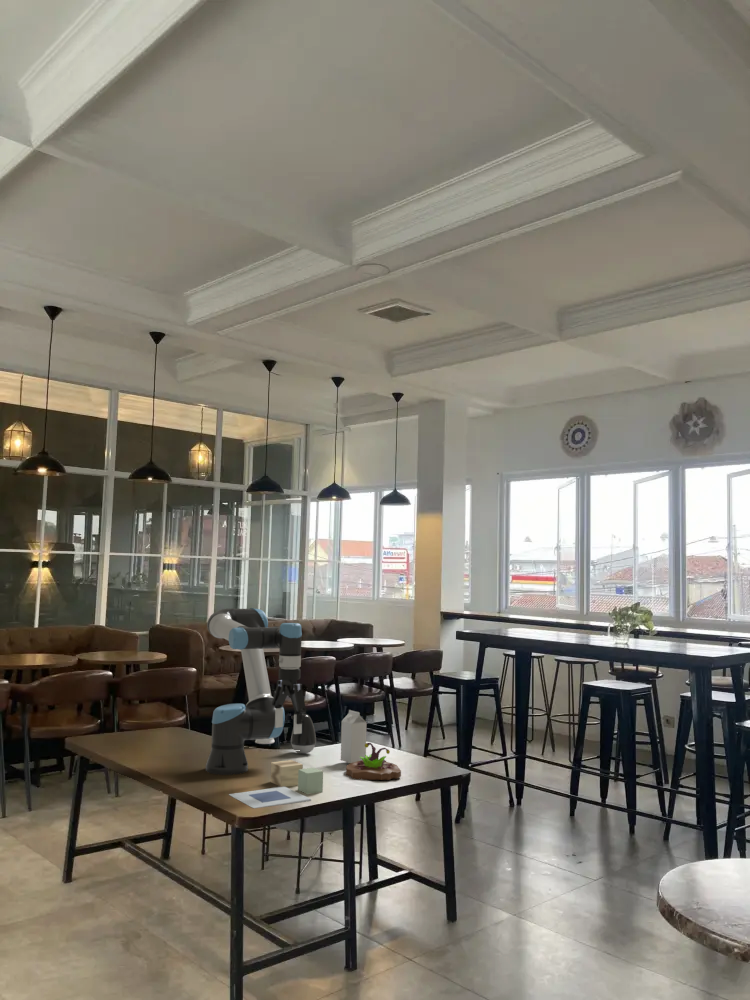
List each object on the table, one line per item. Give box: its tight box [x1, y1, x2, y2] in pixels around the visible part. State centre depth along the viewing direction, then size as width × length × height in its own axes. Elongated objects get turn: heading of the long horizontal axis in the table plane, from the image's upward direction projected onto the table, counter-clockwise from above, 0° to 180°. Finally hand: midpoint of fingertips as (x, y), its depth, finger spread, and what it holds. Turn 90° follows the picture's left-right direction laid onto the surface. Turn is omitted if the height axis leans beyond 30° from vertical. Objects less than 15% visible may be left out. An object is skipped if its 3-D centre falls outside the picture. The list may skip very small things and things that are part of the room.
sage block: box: [297, 767, 324, 795], centre depth 268 cm, size 6×6×7 cm
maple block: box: [270, 759, 304, 787], centre depth 278 cm, size 8×8×7 cm
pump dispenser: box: [290, 713, 317, 754], centre depth 329 cm, size 10×10×15 cm
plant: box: [345, 742, 402, 781], centre depth 297 cm, size 20×20×11 cm
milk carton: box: [340, 709, 367, 764], centre depth 315 cm, size 7×7×19 cm
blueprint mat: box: [228, 786, 312, 809], centre depth 257 cm, size 18×20×1 cm
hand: (288, 730), depth 279 cm, fingers open, 13 cm apart
